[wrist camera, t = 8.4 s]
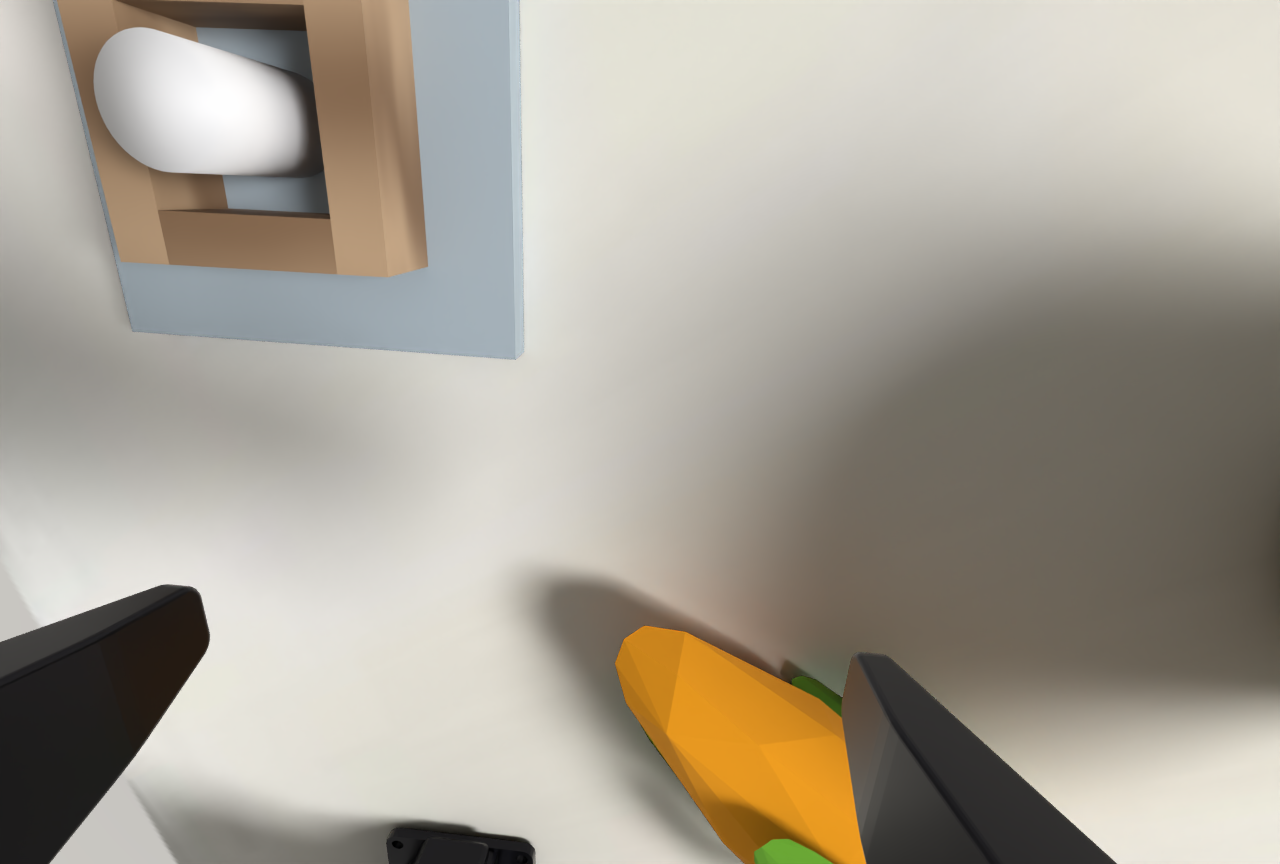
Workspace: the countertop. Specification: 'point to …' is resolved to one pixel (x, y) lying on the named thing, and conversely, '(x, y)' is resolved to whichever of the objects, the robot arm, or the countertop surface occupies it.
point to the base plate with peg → (295, 181)
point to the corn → (746, 748)
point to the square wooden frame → (349, 132)
